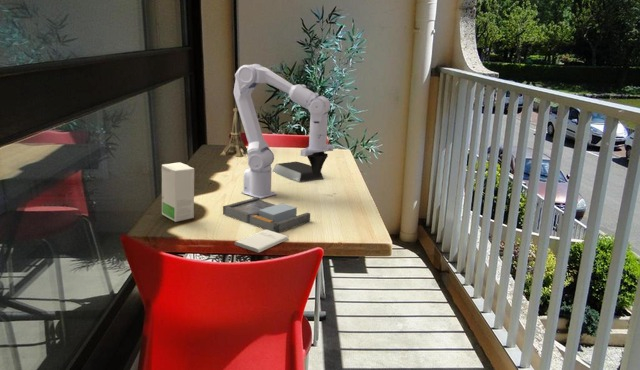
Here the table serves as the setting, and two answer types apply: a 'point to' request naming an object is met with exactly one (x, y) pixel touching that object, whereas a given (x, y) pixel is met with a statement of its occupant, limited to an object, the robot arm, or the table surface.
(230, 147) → the eiffel tower
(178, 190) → the skincare box
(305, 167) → the external hard drive
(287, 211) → the light grey rectangular block
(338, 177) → the table surface
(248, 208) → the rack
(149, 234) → the table surface
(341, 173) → the table surface
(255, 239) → the external hard drive
